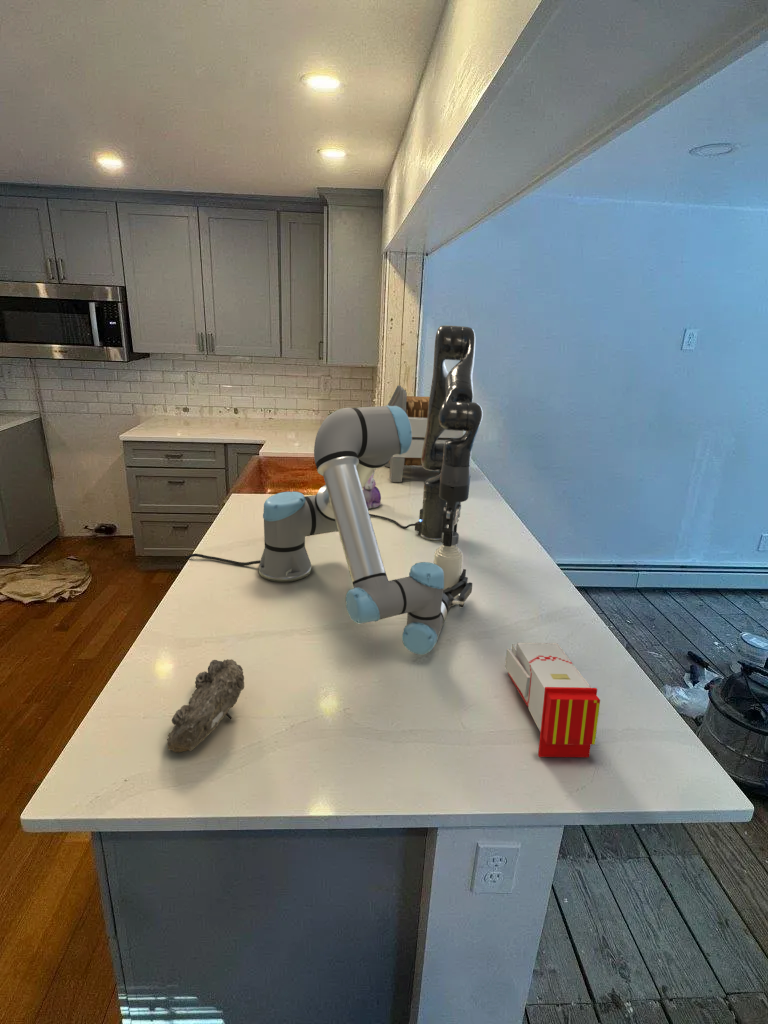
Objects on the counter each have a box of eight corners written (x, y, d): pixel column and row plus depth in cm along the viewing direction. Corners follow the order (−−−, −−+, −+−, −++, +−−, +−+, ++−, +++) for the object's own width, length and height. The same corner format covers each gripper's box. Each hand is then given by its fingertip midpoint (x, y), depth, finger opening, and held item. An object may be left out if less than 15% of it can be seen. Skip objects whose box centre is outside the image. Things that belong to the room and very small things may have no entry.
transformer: (382, 463, 289) (386, 382, 275) (445, 464, 293) (451, 384, 279) (390, 482, 257) (394, 392, 243) (460, 483, 261) (468, 394, 247)
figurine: (365, 510, 221) (366, 473, 215) (354, 502, 229) (355, 466, 224) (386, 507, 225) (388, 471, 220) (375, 500, 233) (376, 464, 228)
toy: (553, 625, 127) (610, 695, 97) (548, 680, 129) (601, 765, 100) (500, 624, 126) (540, 694, 97) (495, 679, 129) (533, 764, 100)
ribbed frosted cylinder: (429, 604, 153) (434, 539, 147) (432, 591, 160) (437, 529, 154) (456, 608, 152) (463, 543, 145) (459, 595, 159) (465, 532, 152)
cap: (457, 539, 152) (458, 531, 151) (459, 545, 148) (459, 537, 147) (440, 538, 152) (441, 530, 151) (442, 545, 148) (442, 536, 147)
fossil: (192, 660, 117) (244, 628, 112) (224, 691, 120) (276, 661, 115) (142, 746, 98) (202, 712, 93) (182, 779, 101) (242, 748, 96)
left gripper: (391, 615, 141) (413, 577, 162) (472, 631, 136) (484, 589, 157) (392, 588, 139) (415, 553, 159) (475, 603, 133) (487, 564, 154)
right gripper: (445, 471, 152) (440, 529, 157) (435, 486, 139) (430, 548, 144) (473, 475, 150) (467, 533, 156) (465, 490, 137) (459, 553, 142)
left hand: (449, 571), depth 158 cm, fingers closed on ribbed frosted cylinder, 7 cm apart
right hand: (449, 540), depth 150 cm, fingers open, 7 cm apart
